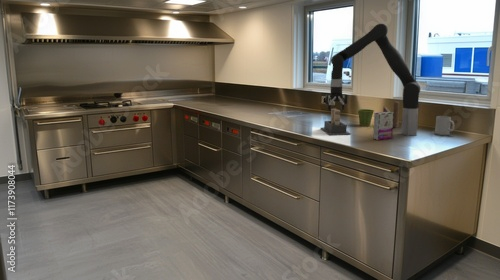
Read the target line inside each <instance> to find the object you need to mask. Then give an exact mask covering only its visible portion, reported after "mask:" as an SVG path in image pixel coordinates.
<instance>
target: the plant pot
mask: <svg viewBox="0 0 500 280" xmlns="http://www.w3.org/2000/svg"><path fill="white" fill-rule="evenodd" d="M357 113H358V121H359V126H361V127H369V126H371V122H372V118H373V114H374V113H375V110H374V109H369V108H361V109H360V108H359V109H357Z"/></svg>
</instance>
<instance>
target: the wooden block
mask: <svg viewBox="0 0 500 280" xmlns="http://www.w3.org/2000/svg"><path fill="white" fill-rule="evenodd" d="M392 111H393V112H394V114H393V129H394V128H395V129H397V128H399V126H400V122H399V116H400V115H399V114H400V113H399V111H400V101H394V102H393V110H392ZM382 112H391V111H390V109H389V108H388V107H387V106H386V105H385V106H383V110H382Z"/></svg>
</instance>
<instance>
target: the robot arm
mask: <svg viewBox="0 0 500 280" xmlns="http://www.w3.org/2000/svg"><path fill="white" fill-rule="evenodd" d="M373 42H375V44H376V45H377V46H378V48H379V49H380V51H381V53H382V55H383V57H384V58H385V60H386V61H385V62H387V64H388V66H389V67H390V69H391V70H392V72H393V73H394V74H395V76H397V78H398V79H399V80H400V82H401V84H402V86H403V91H402V115H401V128H400V134H401V135H404V136H407V137H409V136H413V137H414V136H418V135H417V133H418V132H417V131H418V124H419V123H418V118H419V117H418V116H419V108H420V107H419V106H420V105H419V97H420V92H421V86H420V85H419V83H418V82H417V80H416V79H415V78H414V76H413V74H412V73H411V71H410V69H409V67H408V64H407V63H406V61H405V59H404V57H403V56H402V54H401V52H400V51H399V50H398V49H397V48H396V47H395V46H394V45H393V44H392V42H391V41H390V38H389V37H388V26H387V25H386V24H385V23H378V24H376V25H374V27H372V29H371V30H370V31H368V32H367V33H366V34H365V35H363V36H362V37H360V38H359V39H357V40H355V41H354V42H353V43H351V44H349V45H348V46H347V47H345V48H344V49H343V50H340V51H339V52H337V53H335V54H334V55H333V56H332V57H331V59H330V62H331V64H332V70H331V72H330V73H331V75H330V79H331V80H330V93H329V94H326V95H325V97H324V98H325V100H324V104H325V105H327V110H328V111H331V109H332V108H331V107H332V106H331V105H332V104H333V102H340V111H344V110H345V105H346V104H348V95H347V94H343V70H344V64H345V63H344V62H345V61H347V60H348V59H351V58H353V57H354V56H356V55H358V54H359V53H361V51H363V50H364V49H365V48H366V47H367V46H369V45H370V44H372V43H373ZM342 98H343V99H342Z"/></svg>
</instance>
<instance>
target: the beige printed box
mask: <svg viewBox="0 0 500 280" xmlns="http://www.w3.org/2000/svg"><path fill="white" fill-rule="evenodd" d="M330 111H331V113H330V121H331V124H332V125H340V122H341V109H338V108H331V110H330Z"/></svg>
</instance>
